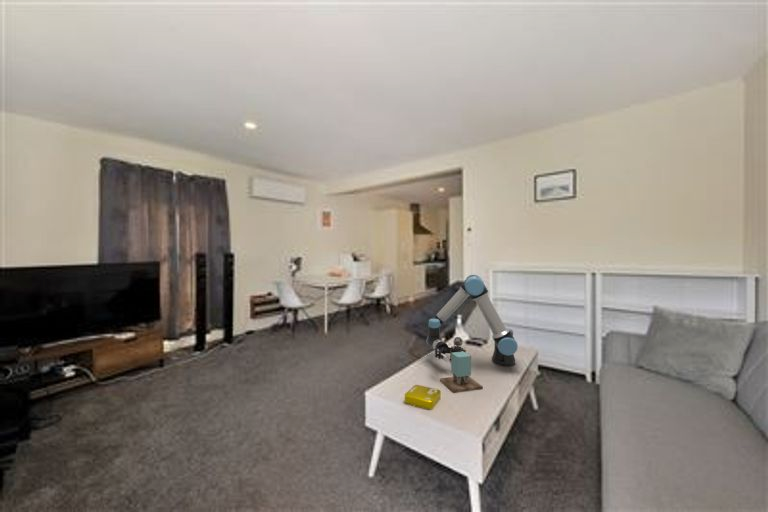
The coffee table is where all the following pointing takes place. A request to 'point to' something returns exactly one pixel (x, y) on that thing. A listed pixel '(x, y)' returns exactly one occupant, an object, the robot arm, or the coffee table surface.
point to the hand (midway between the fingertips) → (457, 358)
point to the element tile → (423, 396)
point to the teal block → (461, 364)
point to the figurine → (457, 343)
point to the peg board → (462, 387)
